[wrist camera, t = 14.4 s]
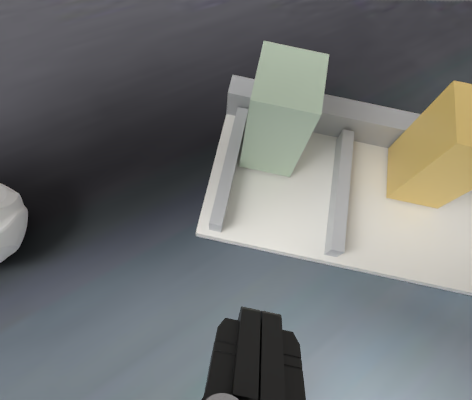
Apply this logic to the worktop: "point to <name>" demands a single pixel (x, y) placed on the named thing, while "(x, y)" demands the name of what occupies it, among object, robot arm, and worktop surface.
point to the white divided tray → (336, 200)
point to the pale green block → (283, 107)
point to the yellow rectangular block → (434, 152)
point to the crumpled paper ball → (11, 221)
